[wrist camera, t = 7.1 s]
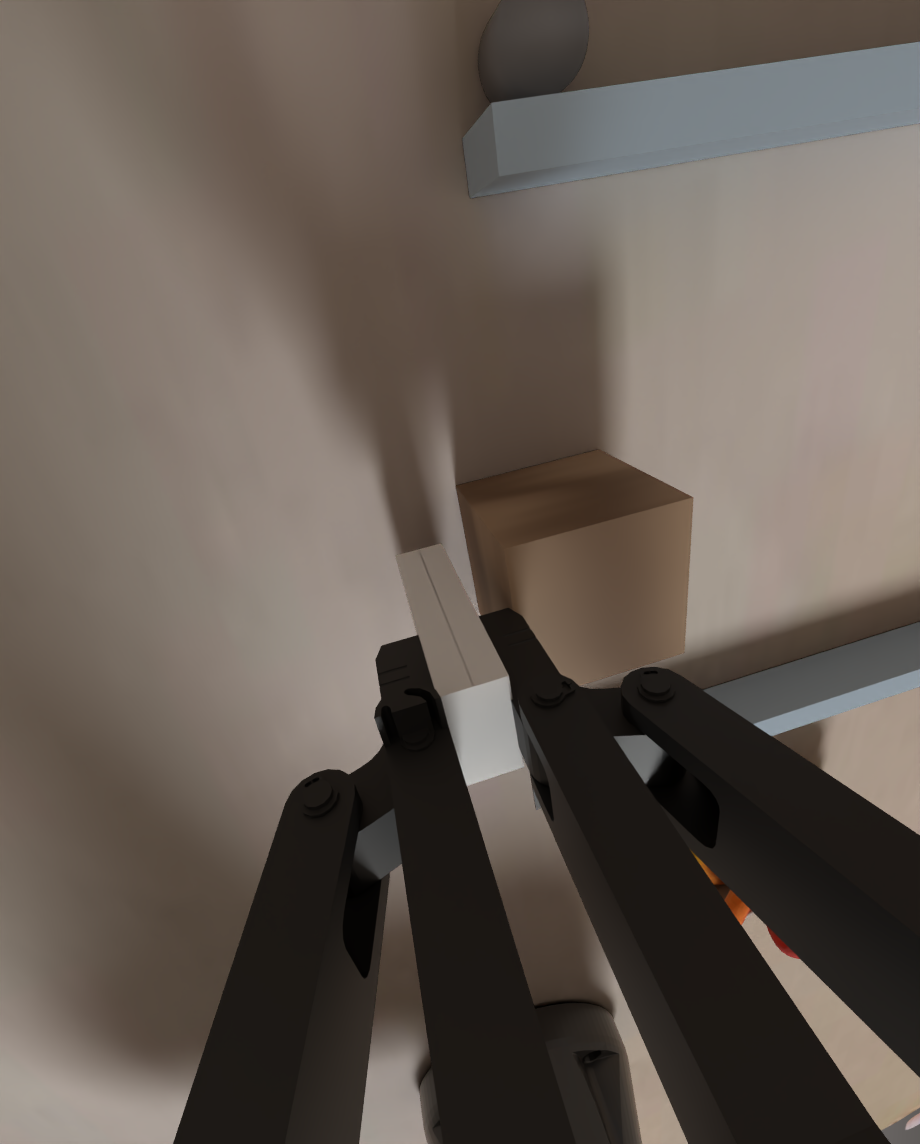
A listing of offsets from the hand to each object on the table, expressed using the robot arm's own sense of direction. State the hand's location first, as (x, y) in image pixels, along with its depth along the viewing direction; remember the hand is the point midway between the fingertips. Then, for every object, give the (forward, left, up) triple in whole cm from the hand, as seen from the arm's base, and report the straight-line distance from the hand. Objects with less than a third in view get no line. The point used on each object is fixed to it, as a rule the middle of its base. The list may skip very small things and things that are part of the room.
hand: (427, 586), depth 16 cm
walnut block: (+4, 0, -1) cm, 4 cm away
